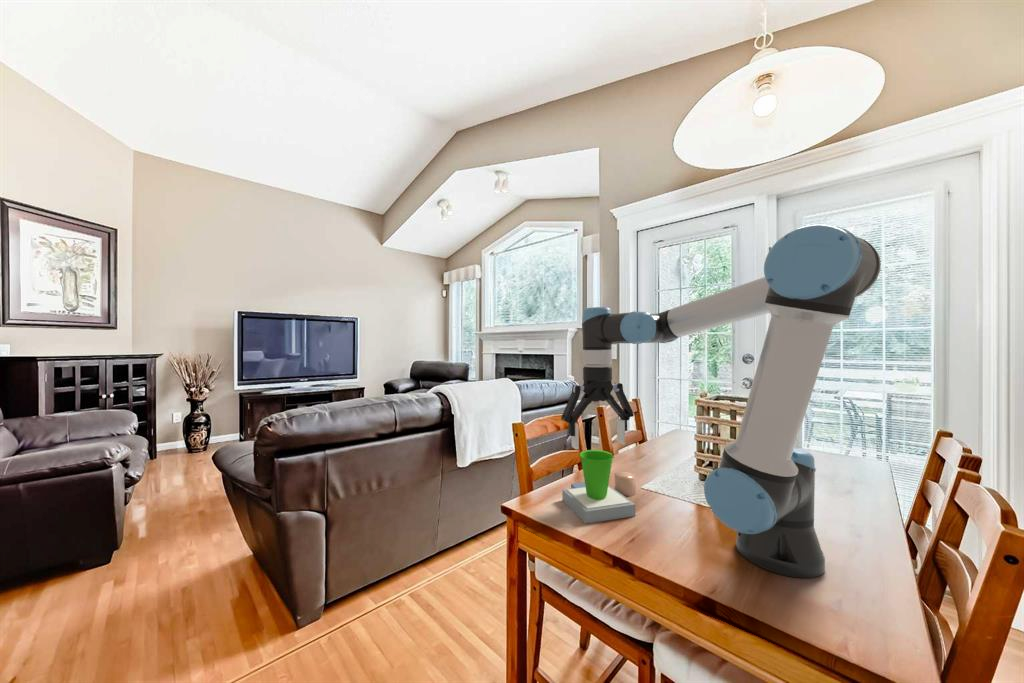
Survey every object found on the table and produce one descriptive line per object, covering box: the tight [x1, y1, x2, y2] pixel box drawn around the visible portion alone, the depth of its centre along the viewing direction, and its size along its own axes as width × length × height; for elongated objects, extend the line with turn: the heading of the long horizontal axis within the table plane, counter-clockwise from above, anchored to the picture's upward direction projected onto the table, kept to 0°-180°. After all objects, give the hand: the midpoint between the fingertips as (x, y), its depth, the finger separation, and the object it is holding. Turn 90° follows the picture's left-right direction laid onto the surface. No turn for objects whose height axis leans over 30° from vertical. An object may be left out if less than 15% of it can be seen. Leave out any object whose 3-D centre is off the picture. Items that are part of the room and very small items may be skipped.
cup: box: [578, 449, 615, 500], centre depth 103 cm, size 9×9×11 cm
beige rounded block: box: [614, 471, 637, 497], centre depth 113 cm, size 6×6×5 cm
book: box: [570, 481, 585, 489], centre depth 114 cm, size 6×9×2 cm
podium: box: [561, 484, 636, 524], centre depth 103 cm, size 14×14×3 cm
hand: (598, 445), depth 102 cm, fingers open, 13 cm apart
